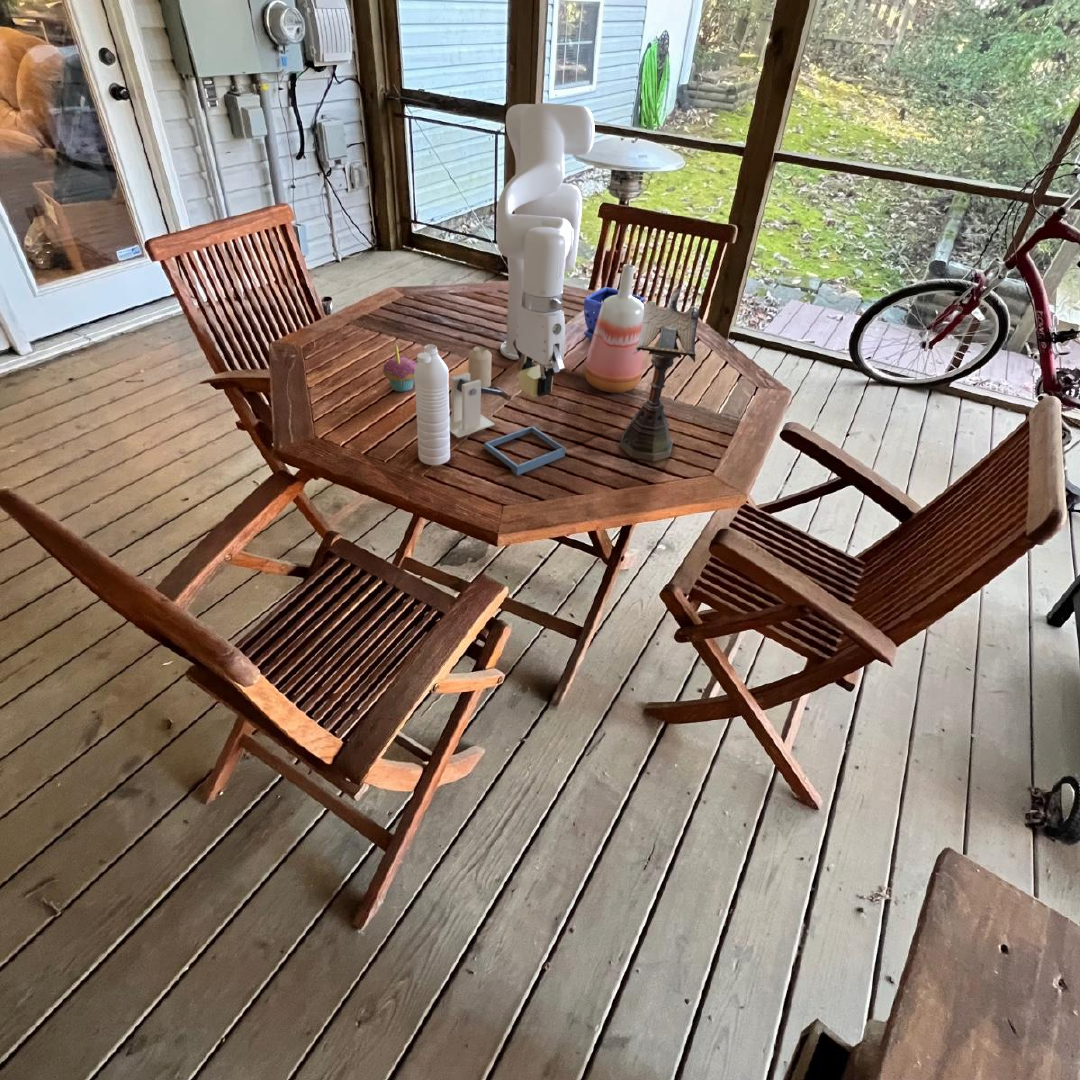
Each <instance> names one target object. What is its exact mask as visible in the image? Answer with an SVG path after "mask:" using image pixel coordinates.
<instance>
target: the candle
mask: <svg viewBox="0 0 1080 1080" xmlns="http://www.w3.org/2000/svg"><path fill="white" fill-rule="evenodd" d="M492 355H493V354H492V353H491V352H490V351H489V350H488V349H486V348H483V347H481V346H474V347H473V348H472V349H471V350H470V351H469V352H468V373H470V381H471V382H472V381H475V380H478V379H479V380H480V381H481V387H485V388H490V387H491V386H492Z"/></svg>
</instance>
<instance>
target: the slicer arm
mask: <svg viewBox="0 0 1080 1080" xmlns="http://www.w3.org/2000/svg"><path fill="white" fill-rule="evenodd" d="M468 382H471V381H470V380H465V379H460V380H459V383H458V386H457V390H459V391H460V392H462V384H465V383H468ZM481 394H487V395H494V396H499V397H501V398H502V399H504V400H505V401H507V402H509V401H511V400H512V395H511V394H509V392H507V391H506V390H504V389H502V388H500V387H499V386H497V385H496V386H494V387H493V388H490V387H488V388H485V387H481Z"/></svg>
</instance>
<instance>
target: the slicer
mask: <svg viewBox="0 0 1080 1080" xmlns="http://www.w3.org/2000/svg"><path fill="white" fill-rule="evenodd" d="M460 379H465V380H470V373H469V371H467V372H464V373H460V374H457V375H453V376H451V377H450V394H451V395H450V401H451V402H450V403H451V405H450V406H451V408H450V409H451V410H450V411H451V412H450V413H451V416H449V420H450V422H449V426H450V432H449V433H450V434H452V435H453V436H454V437H456V438H457V439H460V438H462V437H465V436H468V435H471V434H474V433H476V432H479V431H482V430H485V429H488V428H491V427H493V426H495V424H496V423H494V422H493V421H491V420H490V419H488V418H487V417H486V416H485V415H483V414H482V412H481V411H482V392H481V381H480V380H479V379H478V380H475V381H472V382H468V383H465V384H462V392H460V391H459V390H457V386H458V383H459V380H460Z"/></svg>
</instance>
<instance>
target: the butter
mask: <svg viewBox="0 0 1080 1080" xmlns="http://www.w3.org/2000/svg"><path fill="white" fill-rule="evenodd" d="M547 370H548V369H547V368H546V371H547ZM539 377H541V374H540V364H537V365H535V366H534V367H531V368H528V369H524V370H520V371H519V382H518V383H519V385H518V389H519V390H521V391H522V392H524V394H527V395H528V396H529V397H531V398H533V399H534V398H536V397H539V396H538V395H537V390H538V378H539ZM553 382H554V376H553V377H552V386H551V392H553V384H554V383H553Z"/></svg>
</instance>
